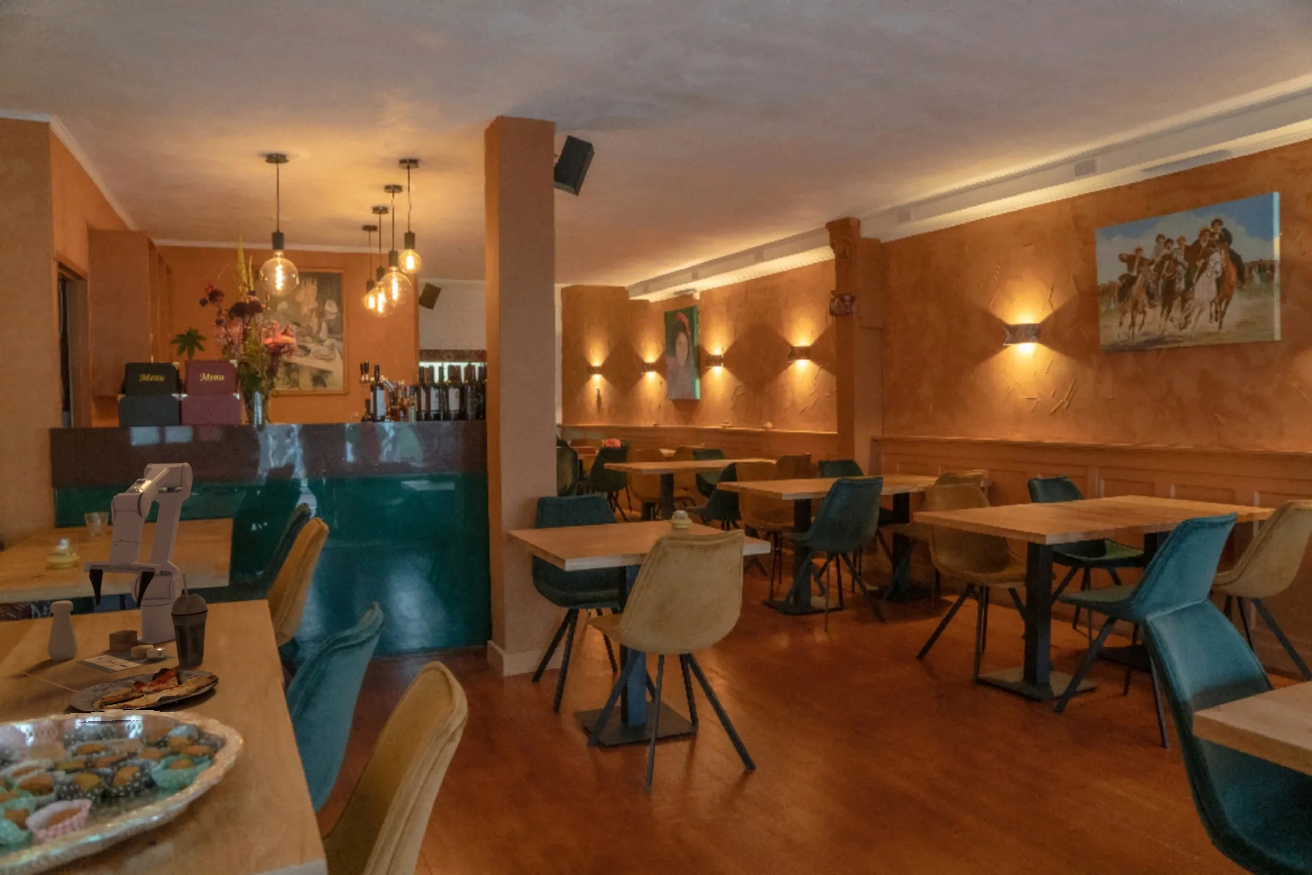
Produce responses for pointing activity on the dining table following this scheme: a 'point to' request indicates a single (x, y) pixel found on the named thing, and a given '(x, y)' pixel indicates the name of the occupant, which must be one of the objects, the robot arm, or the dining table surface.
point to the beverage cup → (189, 627)
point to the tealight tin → (157, 654)
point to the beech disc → (140, 651)
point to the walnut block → (123, 640)
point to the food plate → (146, 689)
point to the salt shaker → (62, 632)
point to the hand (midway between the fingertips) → (118, 605)
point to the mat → (117, 661)
